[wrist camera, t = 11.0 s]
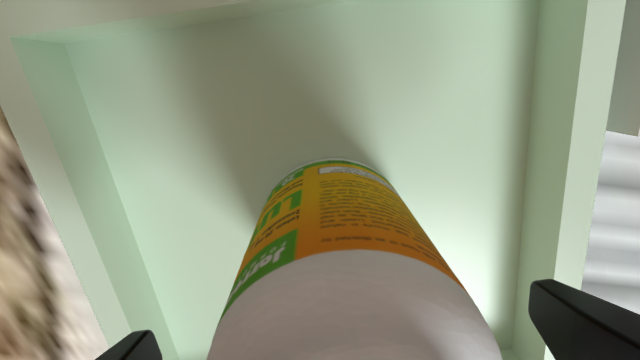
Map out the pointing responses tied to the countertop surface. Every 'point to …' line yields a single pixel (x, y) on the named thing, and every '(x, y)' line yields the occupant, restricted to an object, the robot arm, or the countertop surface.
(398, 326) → the supplement bottle
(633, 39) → the bay
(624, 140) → the countertop surface
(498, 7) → the tray
